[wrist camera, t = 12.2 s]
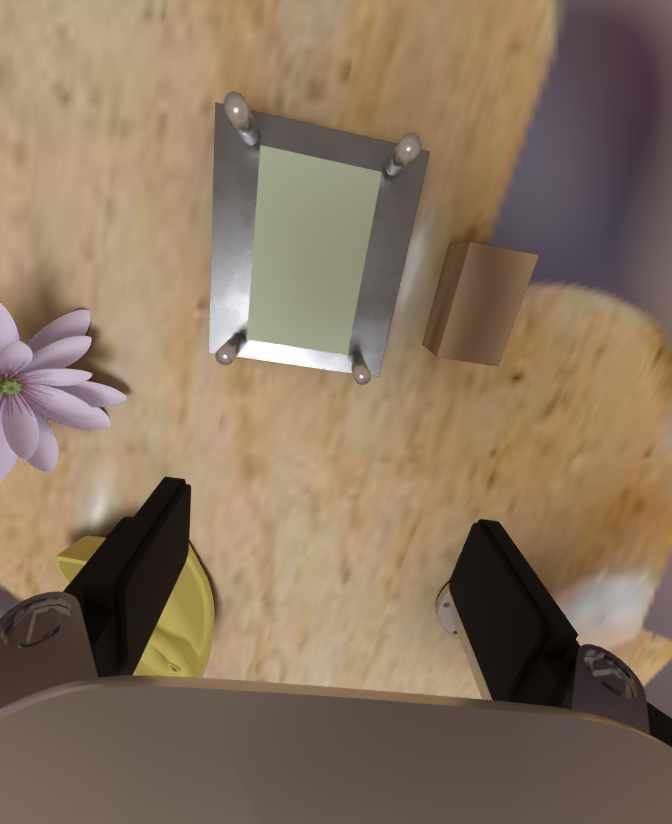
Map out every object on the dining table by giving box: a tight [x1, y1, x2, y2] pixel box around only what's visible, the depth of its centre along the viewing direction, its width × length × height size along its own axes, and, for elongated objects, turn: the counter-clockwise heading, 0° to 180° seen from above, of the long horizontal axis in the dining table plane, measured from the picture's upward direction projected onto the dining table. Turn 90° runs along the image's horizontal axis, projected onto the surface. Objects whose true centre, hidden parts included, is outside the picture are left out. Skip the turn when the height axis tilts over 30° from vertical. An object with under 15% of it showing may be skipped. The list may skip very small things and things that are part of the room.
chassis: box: [209, 92, 430, 385], centre depth 24 cm, size 14×16×6 cm
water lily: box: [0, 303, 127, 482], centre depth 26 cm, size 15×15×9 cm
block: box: [422, 242, 539, 366], centre depth 27 cm, size 5×8×4 cm, turn 170°
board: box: [247, 145, 382, 355], centre depth 23 cm, size 7×11×2 cm, turn 170°
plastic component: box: [54, 536, 214, 678], centre depth 38 cm, size 20×7×10 cm
